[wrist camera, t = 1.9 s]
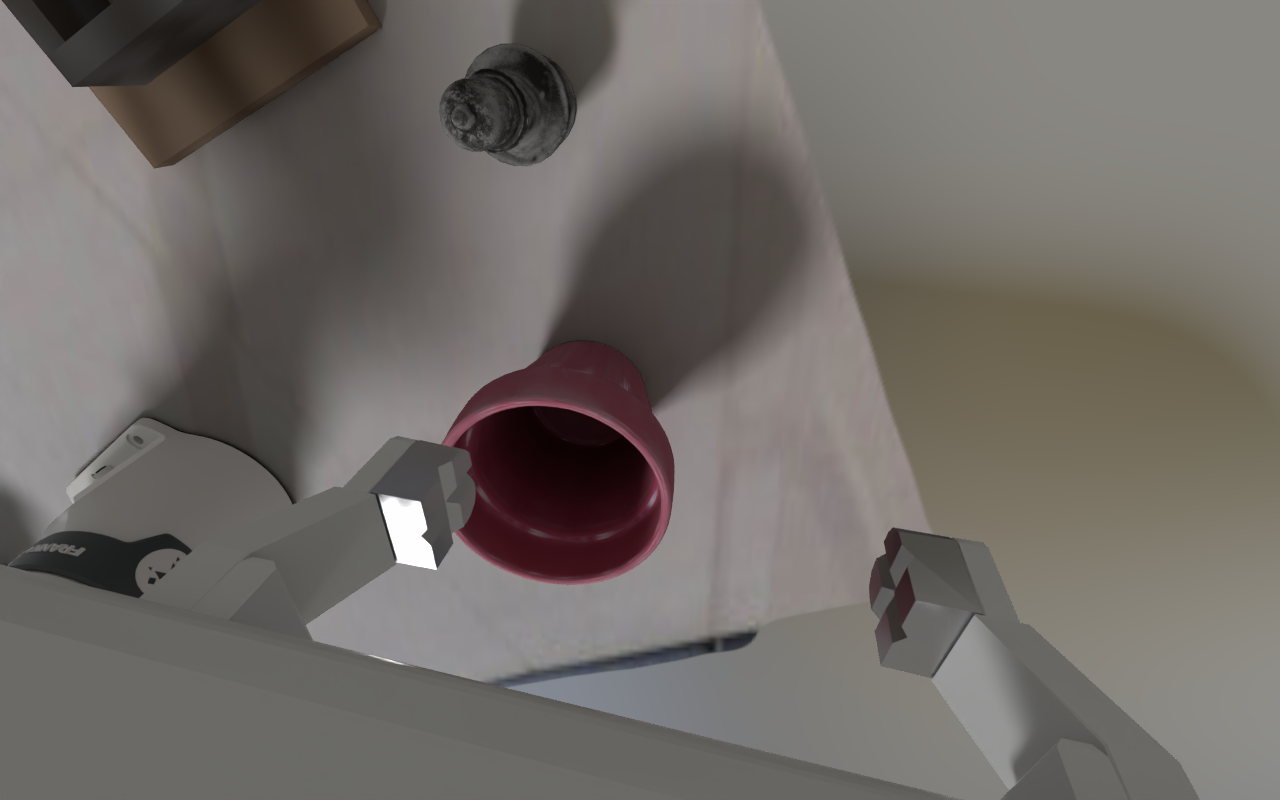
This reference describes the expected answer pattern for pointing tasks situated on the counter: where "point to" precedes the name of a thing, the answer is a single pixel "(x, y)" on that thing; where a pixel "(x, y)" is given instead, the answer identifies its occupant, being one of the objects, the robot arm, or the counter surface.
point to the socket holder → (190, 58)
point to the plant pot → (566, 467)
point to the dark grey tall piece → (510, 106)
